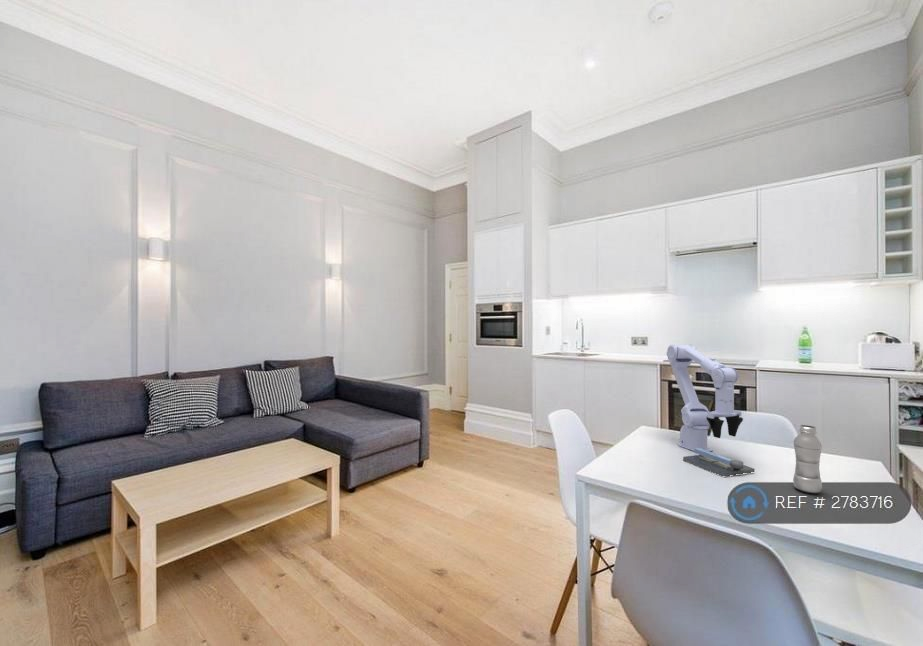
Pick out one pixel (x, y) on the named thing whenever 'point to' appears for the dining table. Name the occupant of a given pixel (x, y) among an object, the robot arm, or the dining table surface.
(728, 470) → the chassis
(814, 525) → the dining table surface
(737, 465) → the cable arm
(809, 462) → the plastic bottle
